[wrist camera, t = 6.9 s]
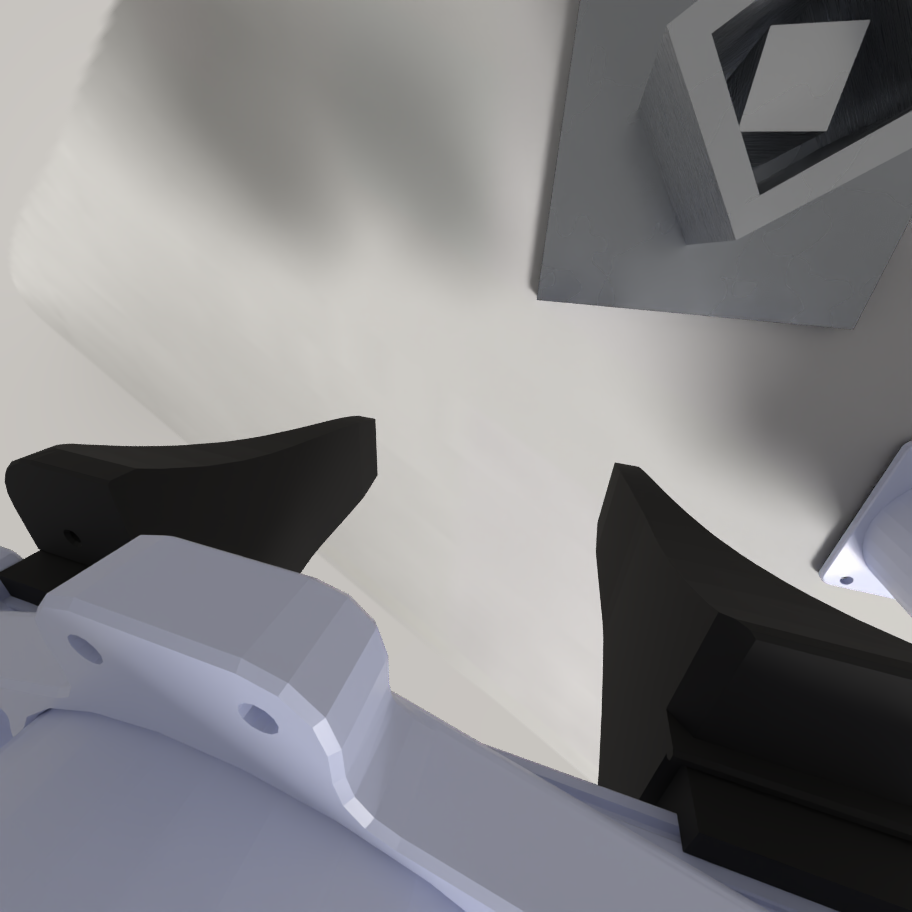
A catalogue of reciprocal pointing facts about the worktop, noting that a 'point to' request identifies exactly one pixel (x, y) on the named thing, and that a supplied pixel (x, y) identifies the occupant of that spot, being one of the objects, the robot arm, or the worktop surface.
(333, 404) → the worktop surface
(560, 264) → the duct flange
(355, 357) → the worktop surface
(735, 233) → the sleeve
